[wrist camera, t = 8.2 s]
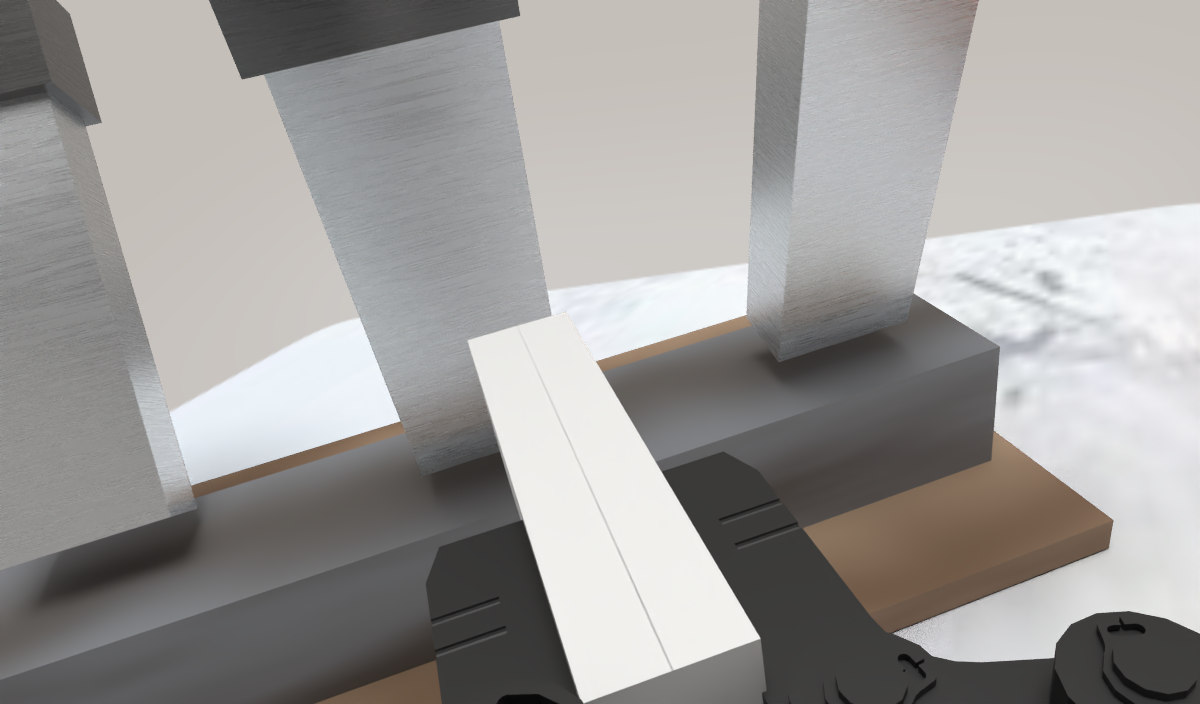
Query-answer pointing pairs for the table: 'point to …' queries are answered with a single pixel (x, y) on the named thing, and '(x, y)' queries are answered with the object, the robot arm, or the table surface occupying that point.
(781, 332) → the lever
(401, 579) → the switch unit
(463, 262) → the lever middle
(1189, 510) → the table surface
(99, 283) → the lever
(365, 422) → the table surface
